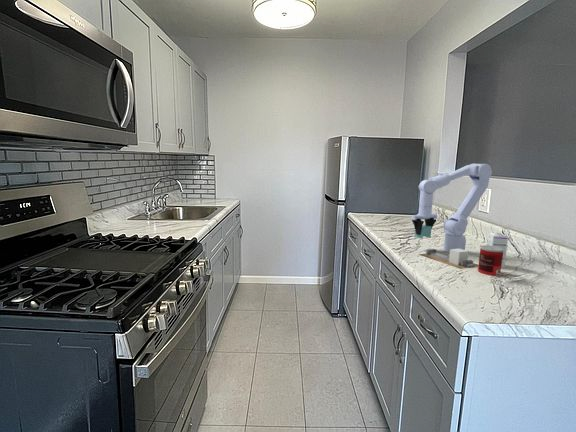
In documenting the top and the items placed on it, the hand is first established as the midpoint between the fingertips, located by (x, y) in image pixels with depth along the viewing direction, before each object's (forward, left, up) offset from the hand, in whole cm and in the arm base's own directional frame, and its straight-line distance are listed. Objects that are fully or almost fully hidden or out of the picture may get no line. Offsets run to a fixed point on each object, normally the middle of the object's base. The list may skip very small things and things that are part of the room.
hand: (422, 234), depth 163 cm
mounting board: (+2, +17, -9) cm, 19 cm away
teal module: (0, 0, -2) cm, 2 cm away
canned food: (+1, +35, -9) cm, 36 cm away
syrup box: (-10, +30, -9) cm, 33 cm away
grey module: (+2, +22, -8) cm, 23 cm away
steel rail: (+2, +17, -8) cm, 18 cm away
